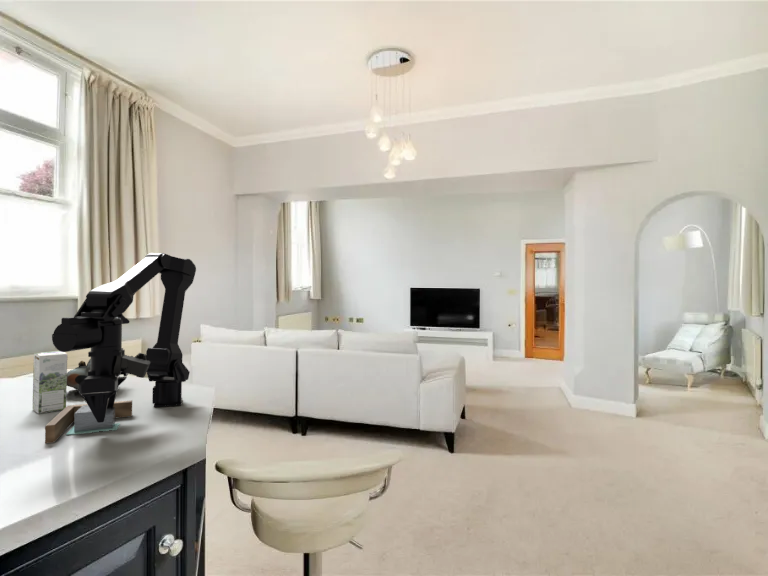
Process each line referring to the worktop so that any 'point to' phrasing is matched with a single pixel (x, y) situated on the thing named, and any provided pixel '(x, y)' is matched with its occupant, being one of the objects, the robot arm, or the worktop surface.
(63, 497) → the worktop surface
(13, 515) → the worktop surface
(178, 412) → the worktop surface
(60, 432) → the corner wall
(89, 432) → the mat
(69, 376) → the lucky cat figurine
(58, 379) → the syrup box
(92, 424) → the bracket
